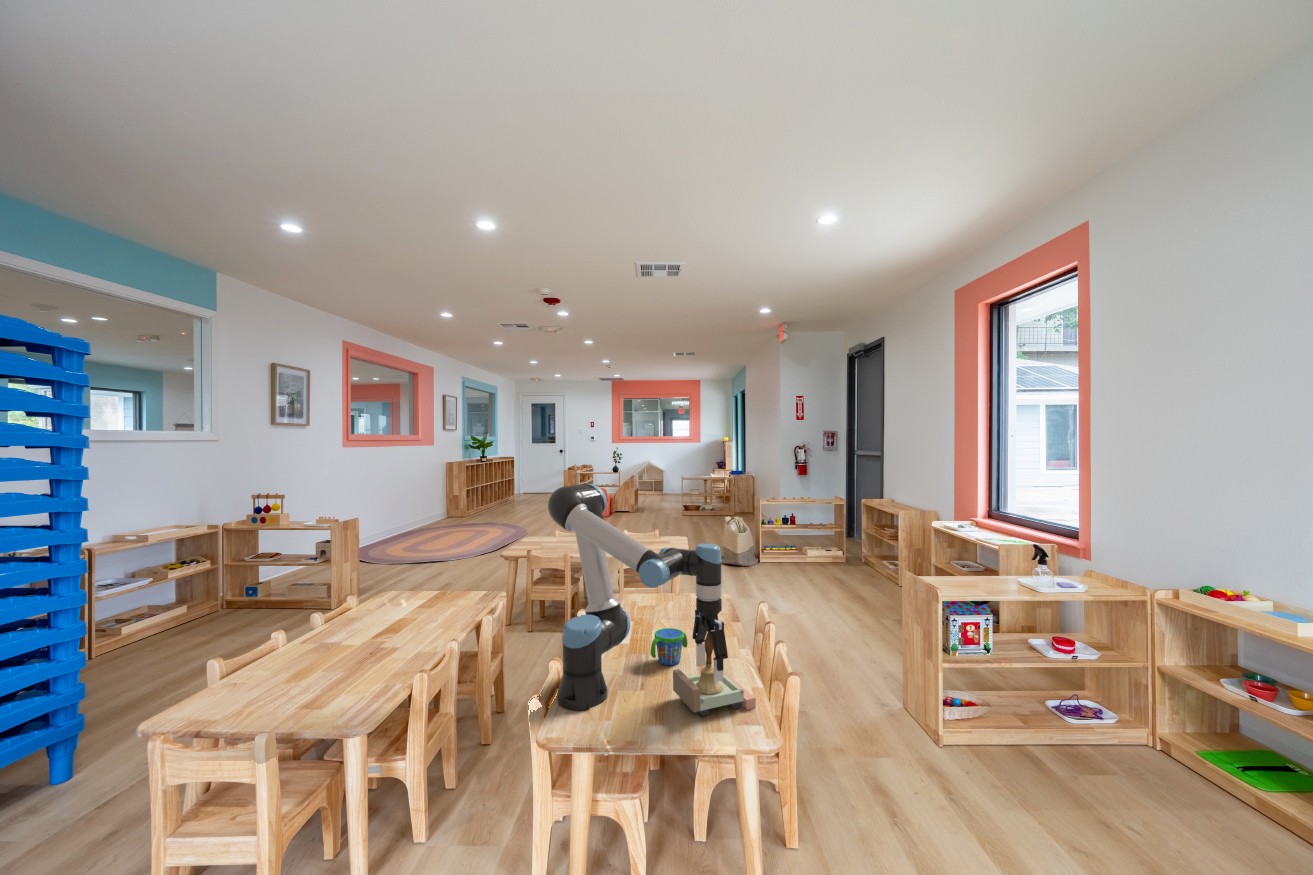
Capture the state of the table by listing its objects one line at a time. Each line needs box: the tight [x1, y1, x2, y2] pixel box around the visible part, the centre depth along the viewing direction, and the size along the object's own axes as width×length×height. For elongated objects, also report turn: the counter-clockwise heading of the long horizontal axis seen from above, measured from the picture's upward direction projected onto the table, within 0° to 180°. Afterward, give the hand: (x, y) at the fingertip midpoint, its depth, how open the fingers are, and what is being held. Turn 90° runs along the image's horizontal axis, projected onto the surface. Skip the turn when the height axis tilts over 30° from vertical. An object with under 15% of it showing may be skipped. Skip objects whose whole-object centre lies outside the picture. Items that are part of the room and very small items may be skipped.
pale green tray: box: [672, 668, 744, 718], centre depth 152 cm, size 16×14×8 cm
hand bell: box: [696, 632, 723, 695], centre depth 152 cm, size 8×8×16 cm
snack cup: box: [650, 627, 688, 666], centre depth 183 cm, size 16×10×10 cm
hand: (709, 672), depth 152 cm, fingers open, 10 cm apart
